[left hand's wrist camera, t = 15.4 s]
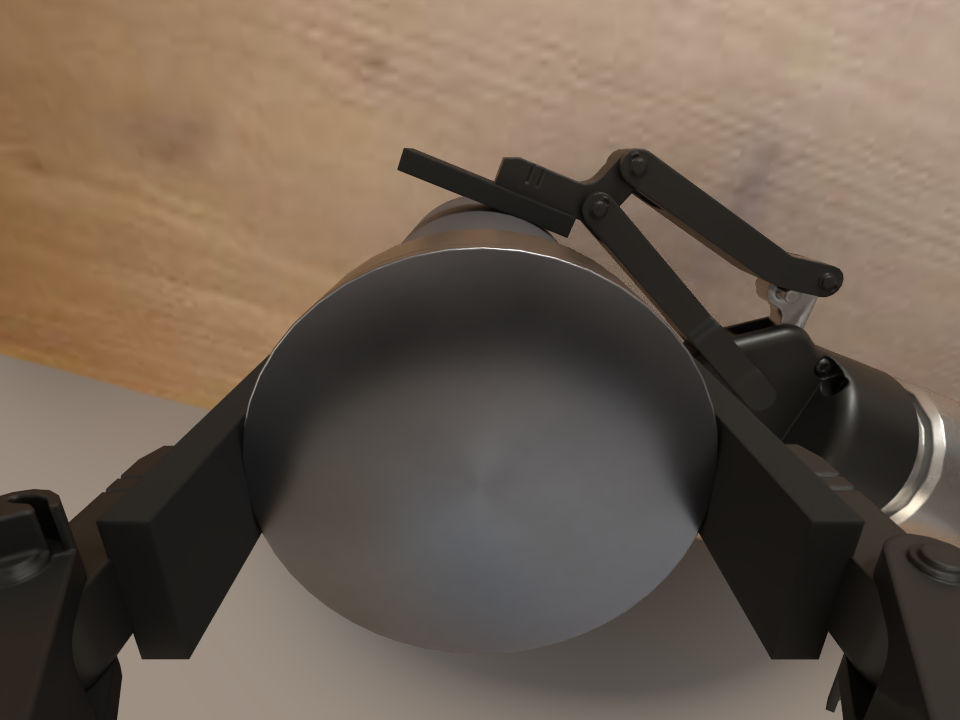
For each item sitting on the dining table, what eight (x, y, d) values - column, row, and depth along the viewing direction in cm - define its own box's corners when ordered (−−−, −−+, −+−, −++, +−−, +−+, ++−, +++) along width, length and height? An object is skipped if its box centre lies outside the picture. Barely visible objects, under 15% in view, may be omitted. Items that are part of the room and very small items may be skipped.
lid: (650, 176, 10) (693, 181, 8) (696, 541, 14) (736, 612, 12) (215, 290, 11) (153, 322, 9) (359, 608, 15) (339, 685, 12)
